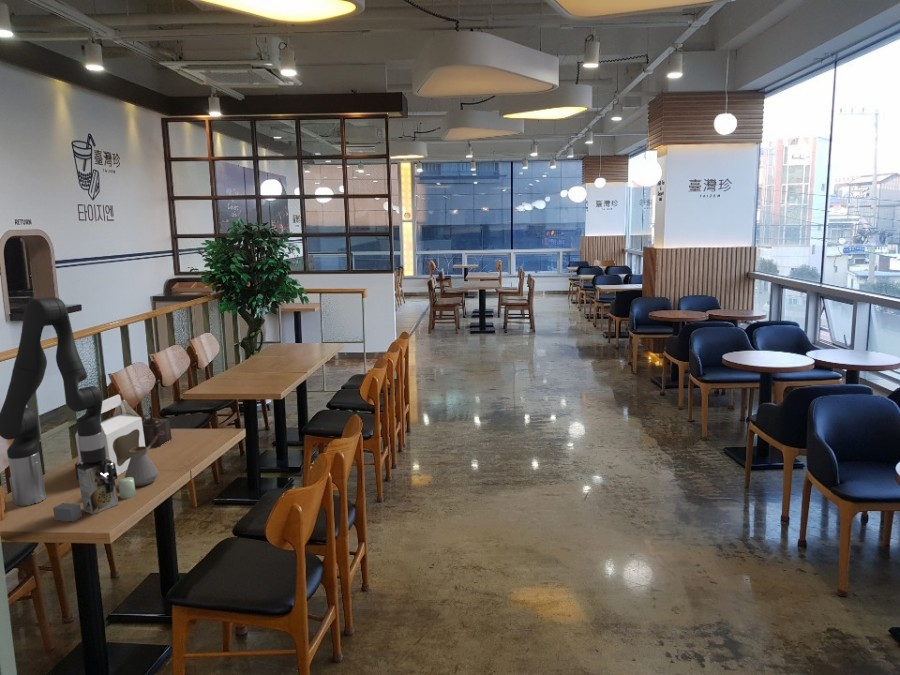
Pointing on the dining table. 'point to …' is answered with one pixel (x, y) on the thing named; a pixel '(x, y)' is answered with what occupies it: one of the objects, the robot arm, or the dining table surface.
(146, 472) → the coffee pot
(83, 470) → the coffee box
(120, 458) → the gable box
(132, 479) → the sage cylinder
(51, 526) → the dining table surface
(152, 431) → the manual coffee grinder
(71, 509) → the charcoal block
